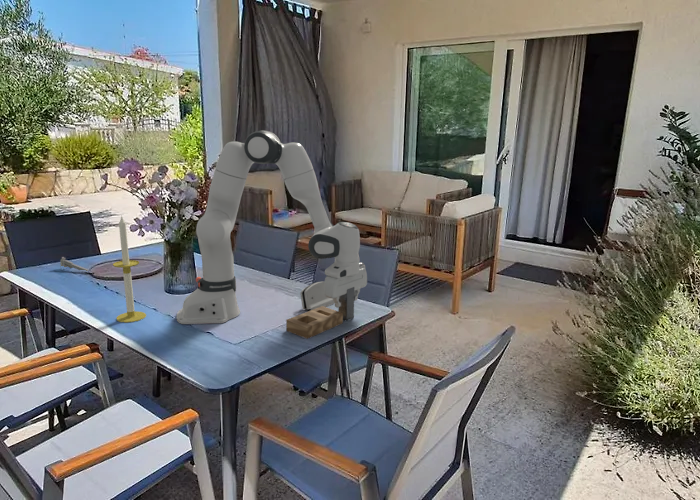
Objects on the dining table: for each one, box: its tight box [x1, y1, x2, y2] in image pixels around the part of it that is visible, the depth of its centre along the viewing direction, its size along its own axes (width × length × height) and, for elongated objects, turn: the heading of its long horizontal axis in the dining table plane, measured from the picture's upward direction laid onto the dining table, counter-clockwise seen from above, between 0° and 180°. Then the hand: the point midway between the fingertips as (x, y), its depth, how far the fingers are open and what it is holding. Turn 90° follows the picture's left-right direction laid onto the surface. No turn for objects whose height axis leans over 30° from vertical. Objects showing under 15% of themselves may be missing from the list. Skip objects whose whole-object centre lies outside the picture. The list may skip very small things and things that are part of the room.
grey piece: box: [299, 281, 339, 311], centre depth 191 cm, size 17×5×10 cm, turn 142°
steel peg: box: [338, 287, 355, 322], centre depth 178 cm, size 4×4×12 cm
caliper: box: [59, 256, 89, 271], centre depth 228 cm, size 20×1×6 cm, turn 69°
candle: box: [112, 215, 147, 324], centre depth 171 cm, size 10×10×38 cm
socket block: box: [285, 306, 344, 340], centre depth 170 cm, size 18×10×4 cm, turn 140°
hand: (346, 303), depth 178 cm, fingers open, 8 cm apart
